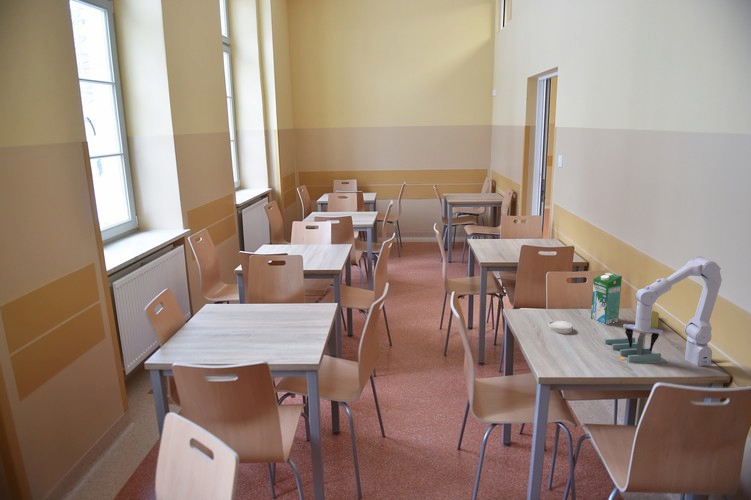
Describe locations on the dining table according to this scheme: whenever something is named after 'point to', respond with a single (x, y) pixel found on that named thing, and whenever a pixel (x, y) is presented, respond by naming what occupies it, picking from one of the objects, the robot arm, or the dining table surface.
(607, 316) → the milk carton
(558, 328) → the ramekin
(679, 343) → the dining table surface
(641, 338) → the panel
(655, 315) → the plastic component
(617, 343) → the slot rack
